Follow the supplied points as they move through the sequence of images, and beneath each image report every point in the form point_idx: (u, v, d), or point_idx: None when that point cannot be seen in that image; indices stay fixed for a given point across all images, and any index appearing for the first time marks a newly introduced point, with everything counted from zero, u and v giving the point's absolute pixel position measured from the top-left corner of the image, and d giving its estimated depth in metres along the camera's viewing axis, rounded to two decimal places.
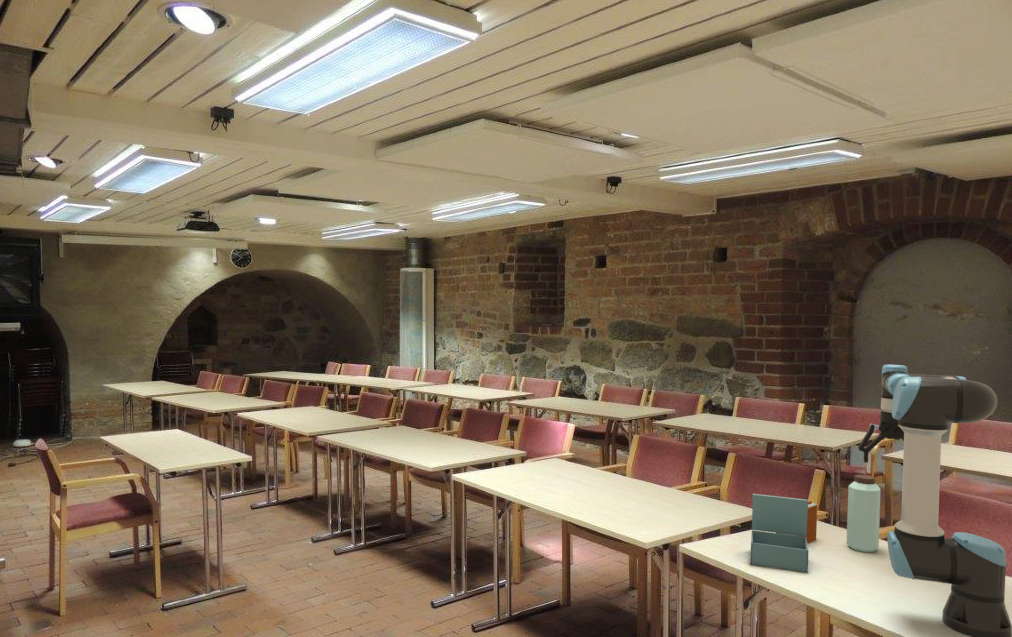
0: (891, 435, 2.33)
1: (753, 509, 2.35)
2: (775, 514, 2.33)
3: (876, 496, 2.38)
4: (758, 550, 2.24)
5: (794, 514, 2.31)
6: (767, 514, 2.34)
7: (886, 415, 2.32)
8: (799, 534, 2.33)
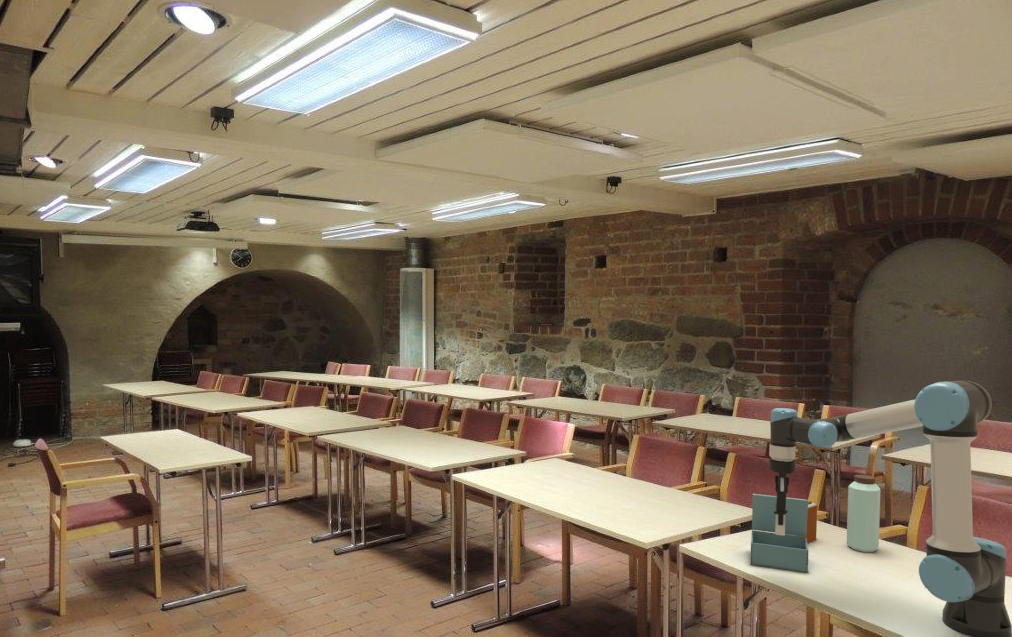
0: None
1: (753, 509, 2.35)
2: (775, 514, 2.33)
3: (876, 496, 2.38)
4: (758, 550, 2.24)
5: (794, 514, 2.31)
6: (767, 514, 2.34)
7: None
8: (799, 534, 2.33)
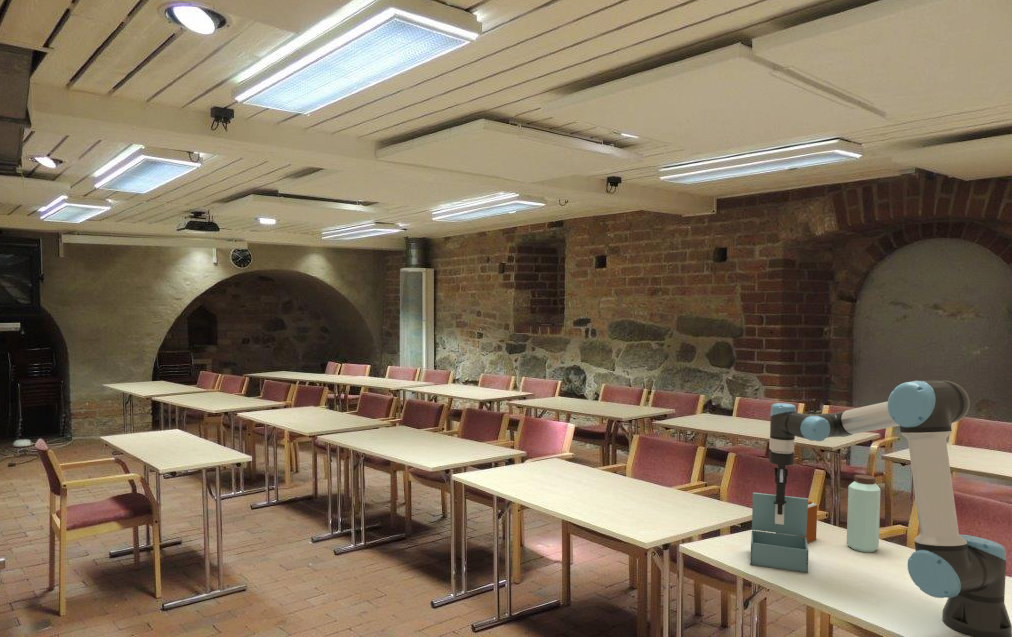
0: None
1: (753, 508, 2.35)
2: None
3: (876, 496, 2.38)
4: (758, 550, 2.24)
5: (794, 514, 2.31)
6: (767, 513, 2.34)
7: None
8: (799, 534, 2.33)
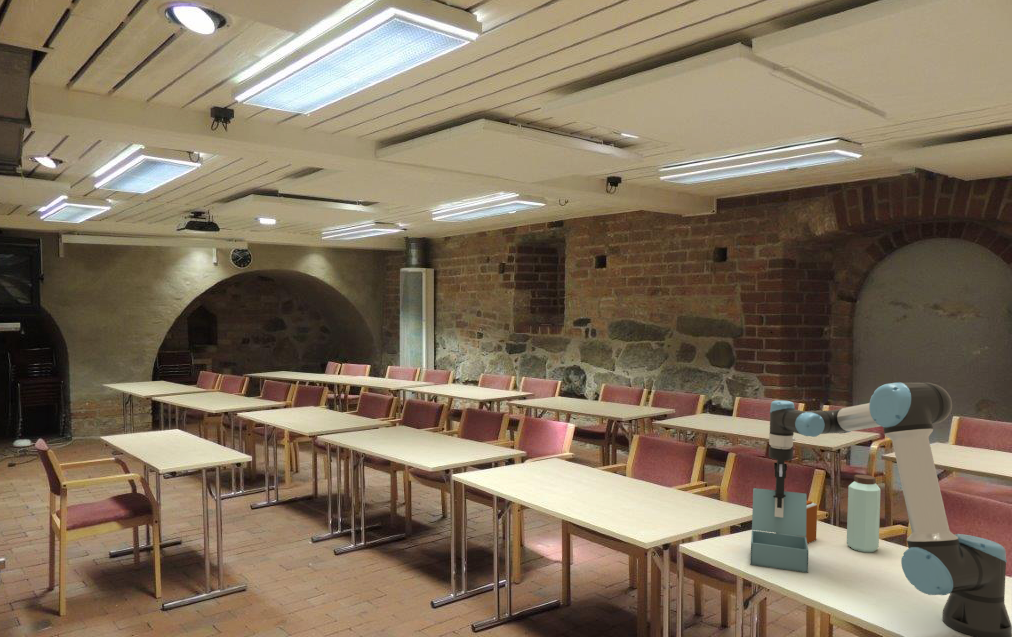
0: None
1: (753, 505, 2.40)
2: None
3: (876, 496, 2.38)
4: (758, 550, 2.24)
5: (793, 510, 2.36)
6: (767, 510, 2.38)
7: None
8: (799, 534, 2.33)
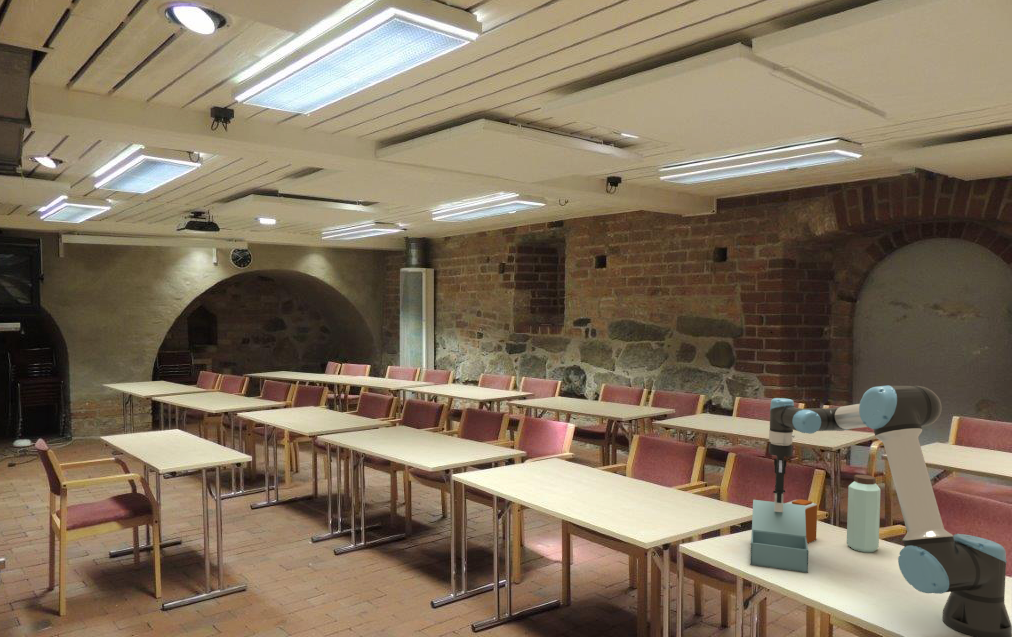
0: None
1: (753, 511, 2.44)
2: (774, 516, 2.41)
3: (876, 496, 2.38)
4: (758, 550, 2.24)
5: (793, 517, 2.40)
6: (767, 516, 2.42)
7: None
8: (799, 534, 2.33)
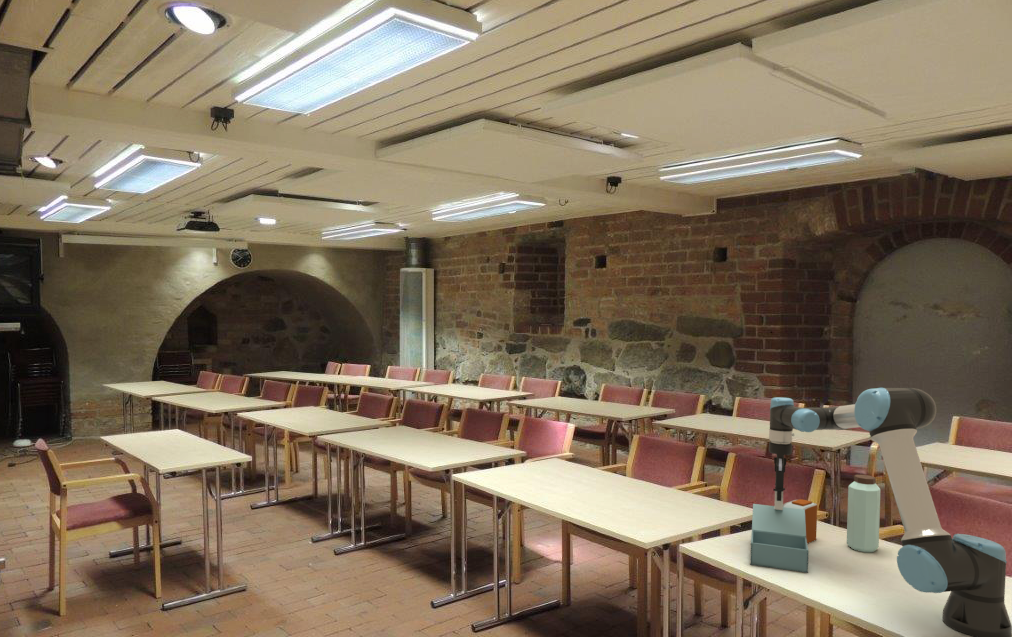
0: (776, 464, 2.46)
1: (753, 514, 2.45)
2: (774, 518, 2.42)
3: (876, 496, 2.38)
4: (758, 550, 2.24)
5: (792, 519, 2.40)
6: (767, 518, 2.42)
7: None
8: (799, 534, 2.33)
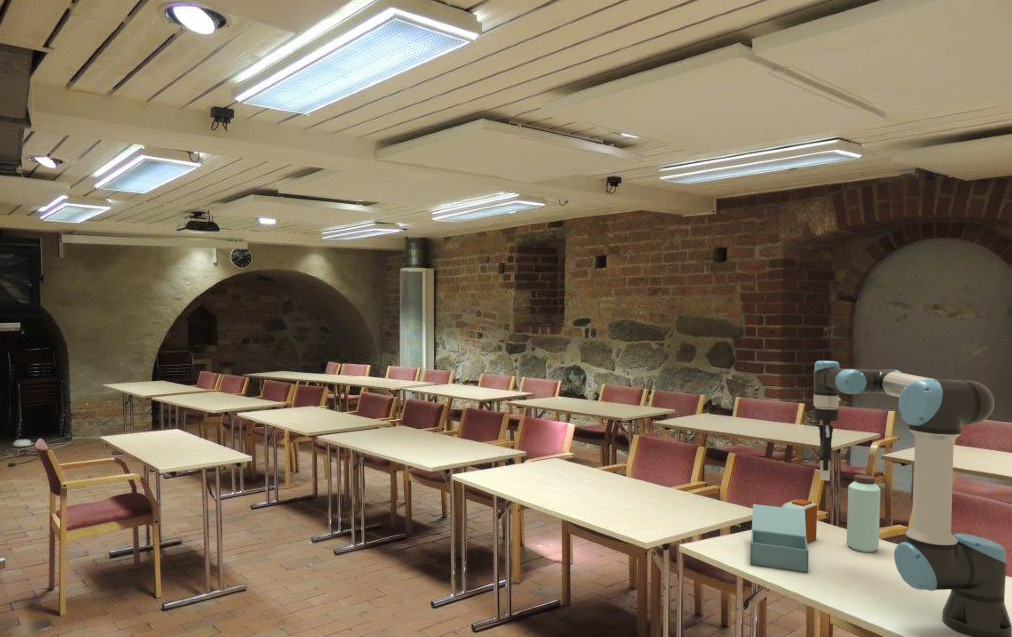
0: None
1: (753, 514, 2.45)
2: (774, 518, 2.42)
3: (876, 496, 2.38)
4: (758, 550, 2.24)
5: (792, 519, 2.40)
6: (767, 518, 2.42)
7: None
8: (799, 534, 2.33)
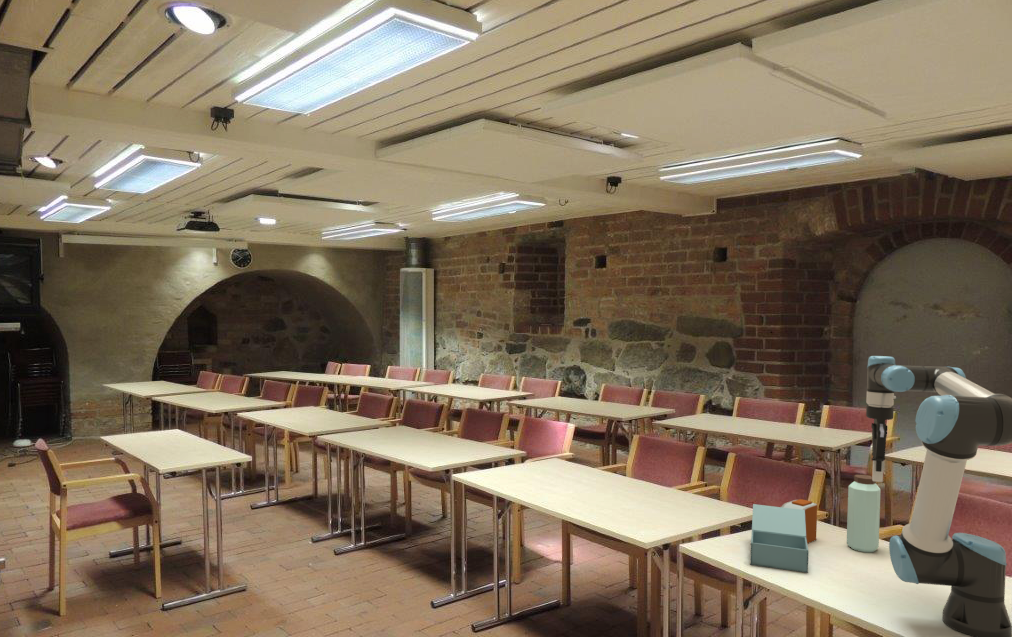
0: None
1: (753, 514, 2.45)
2: (774, 518, 2.42)
3: (876, 496, 2.38)
4: (758, 550, 2.24)
5: (792, 519, 2.40)
6: (767, 518, 2.42)
7: None
8: (799, 534, 2.33)
